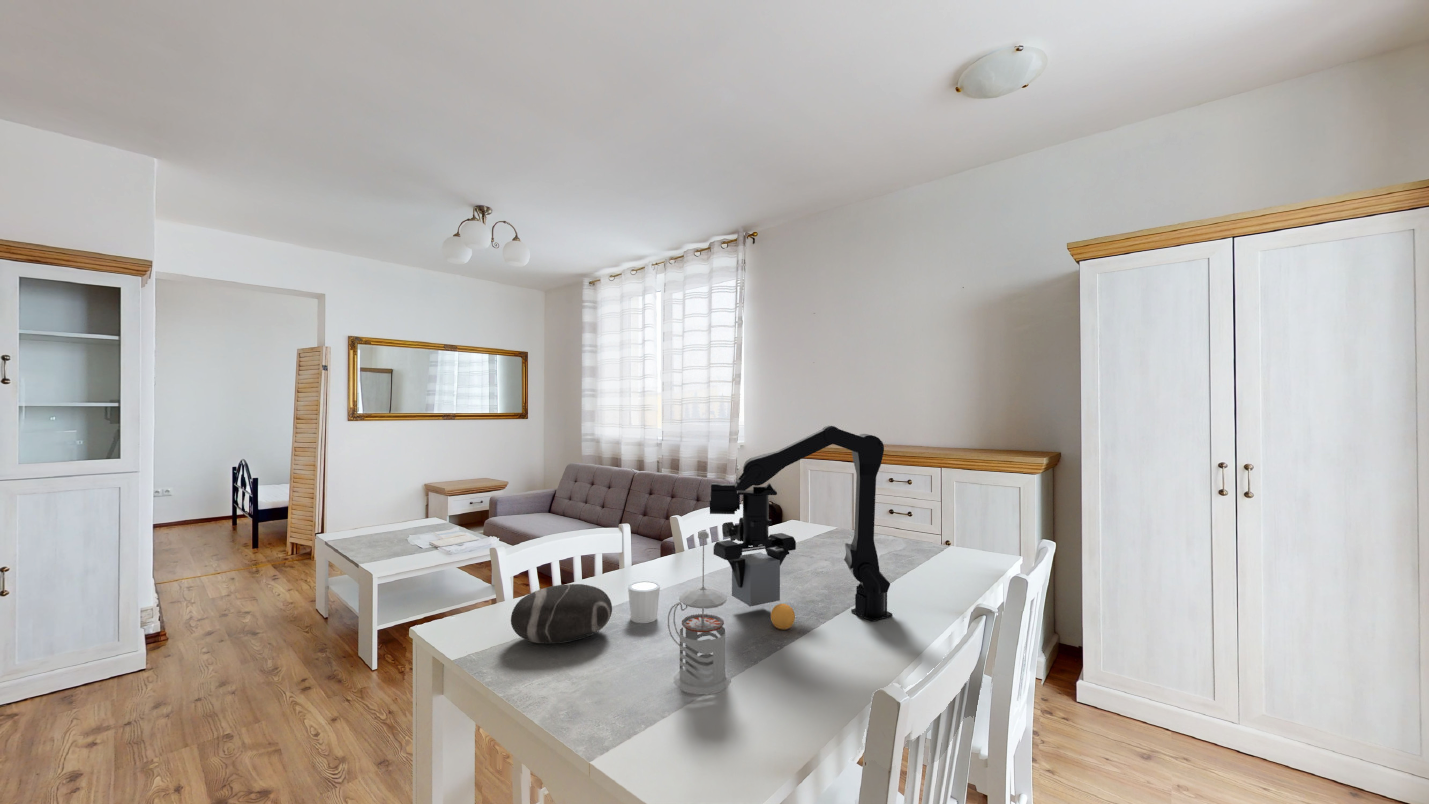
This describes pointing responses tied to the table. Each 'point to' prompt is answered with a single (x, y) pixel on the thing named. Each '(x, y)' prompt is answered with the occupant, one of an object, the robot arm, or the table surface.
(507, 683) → the table surface
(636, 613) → the white tapered cup
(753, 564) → the grey matte cube
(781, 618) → the ball
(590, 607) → the decorative stone
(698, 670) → the french press
